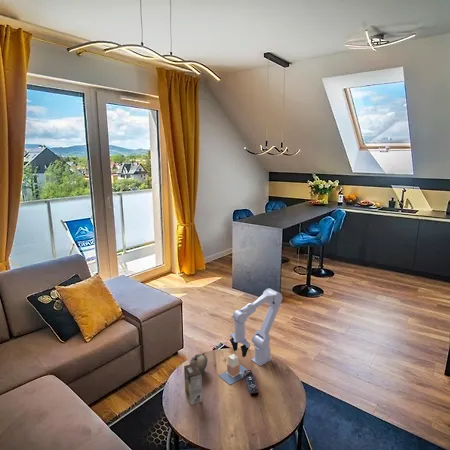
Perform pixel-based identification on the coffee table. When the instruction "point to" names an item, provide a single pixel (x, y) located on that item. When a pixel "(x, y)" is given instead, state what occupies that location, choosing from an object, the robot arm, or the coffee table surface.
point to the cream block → (233, 360)
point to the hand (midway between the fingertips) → (239, 353)
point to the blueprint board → (233, 379)
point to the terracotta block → (233, 369)
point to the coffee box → (193, 383)
